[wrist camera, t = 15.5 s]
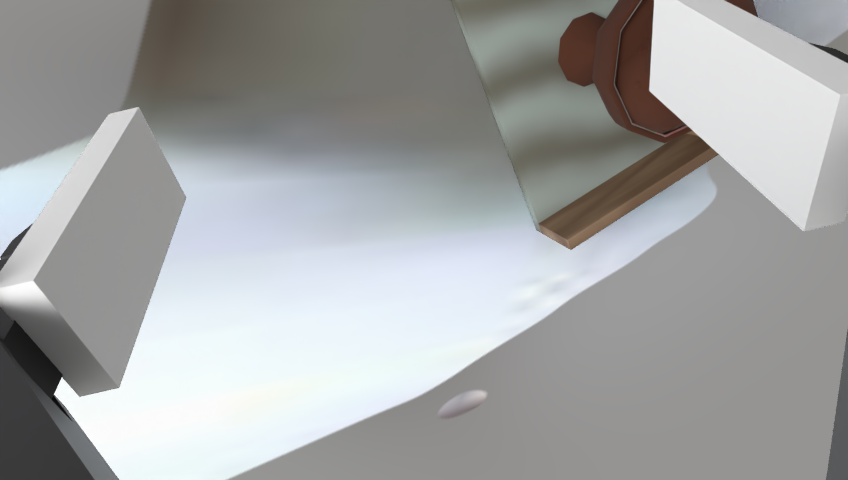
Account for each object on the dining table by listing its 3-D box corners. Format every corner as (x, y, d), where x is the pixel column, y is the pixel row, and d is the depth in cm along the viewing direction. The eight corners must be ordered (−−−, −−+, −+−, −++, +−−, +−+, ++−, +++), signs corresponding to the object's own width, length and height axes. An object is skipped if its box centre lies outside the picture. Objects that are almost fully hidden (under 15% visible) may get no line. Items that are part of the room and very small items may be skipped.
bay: (430, -55, 40) (462, -64, 35) (627, -155, 43) (679, -175, 38) (536, 230, 51) (570, 249, 47) (686, 135, 54) (731, 145, 50)
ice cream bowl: (566, 147, 48) (713, 195, 35) (503, 30, 43) (650, 36, 30) (660, 67, 49) (836, 85, 36) (610, -58, 44) (797, -89, 31)
